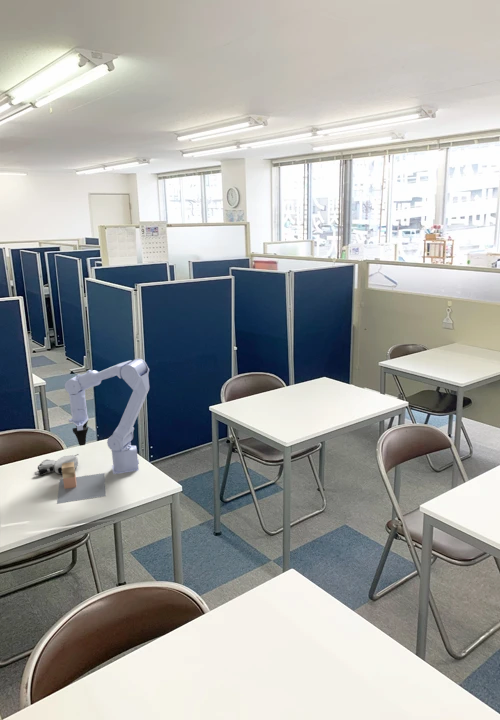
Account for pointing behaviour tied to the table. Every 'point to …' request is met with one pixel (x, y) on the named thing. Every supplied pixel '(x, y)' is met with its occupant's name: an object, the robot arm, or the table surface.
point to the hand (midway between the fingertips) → (82, 441)
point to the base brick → (69, 482)
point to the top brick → (68, 470)
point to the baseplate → (83, 488)
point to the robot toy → (56, 464)
